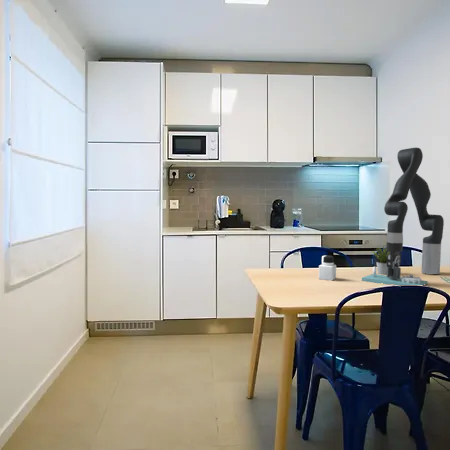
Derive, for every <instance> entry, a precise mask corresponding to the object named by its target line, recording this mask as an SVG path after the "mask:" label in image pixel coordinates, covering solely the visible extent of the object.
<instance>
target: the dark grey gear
mask: <svg viewBox="0 0 450 450" xmlns="http://www.w3.org/2000/svg"><path fill="white" fill-rule="evenodd" d="M401 268H402V267H400V266H398V267H394V273H393V276H389V275H388V272H389V268H388V267H387V274H386V276H387V278H391V279H392V278H394V279H397V278H400V277H401V272H402V271H401V270H402V269H401Z"/></svg>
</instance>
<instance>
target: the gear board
mask: <svg viewBox="0 0 450 450" xmlns="http://www.w3.org/2000/svg"><path fill="white" fill-rule="evenodd" d="M361 281H363V282H368V283H369V282H370V283H375V284H376V283H377V284H381V283H383V284H382V285H388V284H395V285H424V284H427V285H428V284H429V283H428V280H424V279H423V280H422V278H421V277H420V276H415V275H414V274H413V273H411V274H408V275H402V276H400V278H397V279H394V278H392V279H391V278H387V274H378V273H377V266H373V267H372V274H369V275H366V276H363V277H361ZM395 285H394V286H395Z"/></svg>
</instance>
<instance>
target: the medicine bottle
mask: <svg viewBox="0 0 450 450" xmlns="http://www.w3.org/2000/svg"><path fill="white" fill-rule="evenodd" d="M335 279H337V265H336V264H335V257H334V256H332V255H326V254H325V255H322V256H321V264H320V265H318V280H322V281H323V280H324V281H333V280H335Z"/></svg>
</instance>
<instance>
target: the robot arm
mask: <svg viewBox="0 0 450 450" xmlns="http://www.w3.org/2000/svg"><path fill="white" fill-rule="evenodd" d="M423 155H424V154H423V151H422V149H421V148H419V147H409V148H404V149H400V150H399V151H398V152H397V155H396V156H397V162H398V165H399V167H400V169H401V170H402V173H403V174H402V175H401V176H400V177H398V179H397V181H395V184H394V188H393V192H392V193H391V195H390V197H388V200H387V201H386V202H385V203H384V213H385V214H386V215H387V216H391V217H392V216H394V217H396V219H393V220H389V221H388V222H387V232H386V233H387V234H386V247H385V249H386V250H387V251H386V252H388V251H390V252H389V253H390V254H389V253H388V254H389V255H387V259H386V260H387V267H388V268H389V272H388V275H389V276H393V273H394V267H400V265H401V263H402V252H403V247H404V246H403V245H404V244H403V243H404V234H403V233H404V222H405V219H406V216H407V213H408V210H409V209H408V204H407V203H406V202H405V201H406V200H407V198H408V195H409V192H410V194H411V197H412V200H413V203H414V206H415V208H416V212H417V217H418V221H419V222H418V223H419V226H420V228H421V229H422V230H424V231H427V232H431V234H430V235H429V236H425V237H423V238H422V249H421V252H422V253H421V255H422V256H421V272H422V273H421V274H423V273H426V274H425V275H429V274H439V275H440V274H441V272H440V271H441V256H442V255H441V254H442V252H441V251H442V239H443V236H444V235H443V233H444V224H445V223H444V222H445V221H444V220H445V219H444V217H443V215H441V214H429V212H428V210H427V206H428V203H429V202H430V199H431V197H432V196H431V195H432V194H431V189H430V187H429V184H428V182H427V181H426V180H425V179H424V178H423V177H422V176H420V175H419V174H418V173H417V172H418V171H419V168H420V166H421V164H422V163H423V157H424V156H423Z"/></svg>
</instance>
